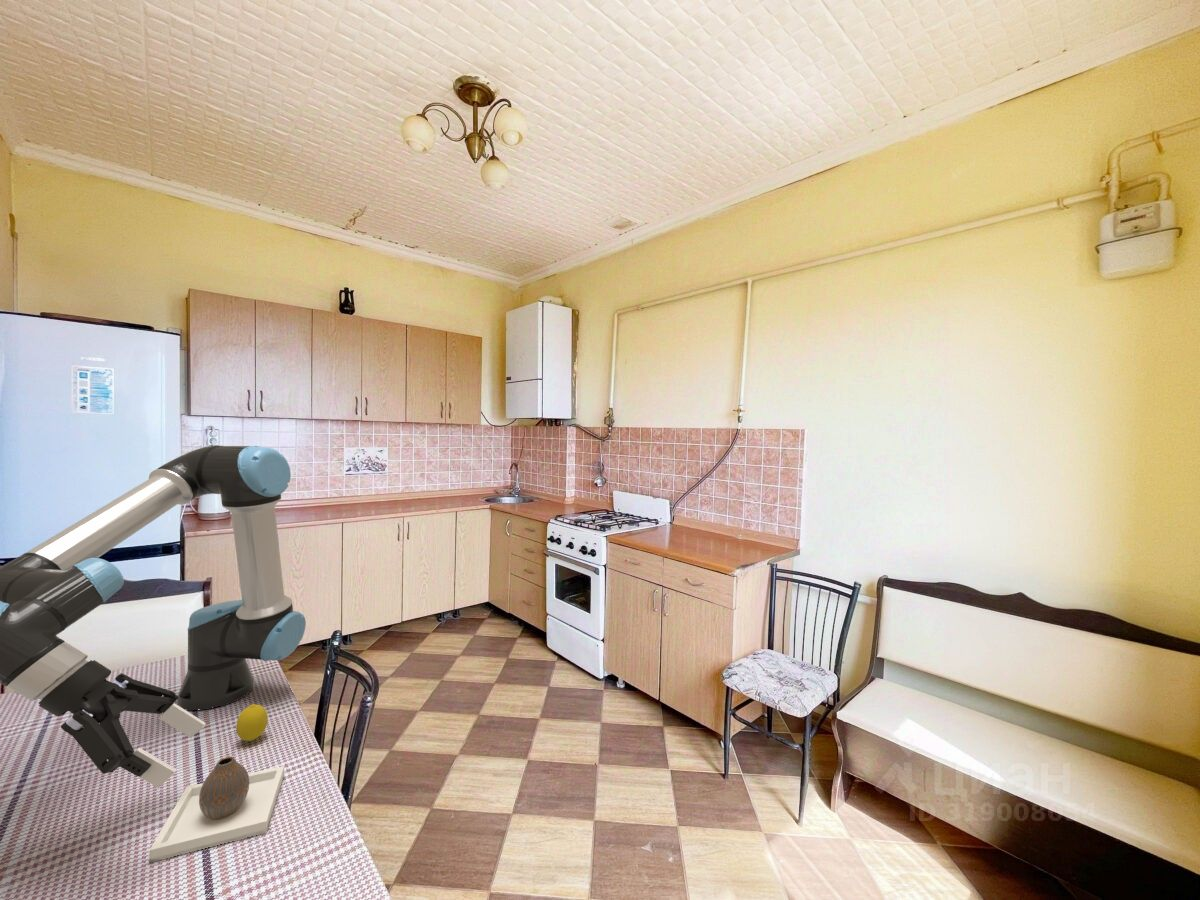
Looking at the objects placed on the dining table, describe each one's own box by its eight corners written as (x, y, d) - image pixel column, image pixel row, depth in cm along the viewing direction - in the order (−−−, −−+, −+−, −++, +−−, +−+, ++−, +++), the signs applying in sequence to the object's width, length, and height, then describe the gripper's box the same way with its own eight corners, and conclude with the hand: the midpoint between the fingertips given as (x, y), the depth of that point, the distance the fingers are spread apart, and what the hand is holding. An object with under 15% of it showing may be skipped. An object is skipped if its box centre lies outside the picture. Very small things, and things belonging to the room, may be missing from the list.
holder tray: (186, 797, 87) (186, 786, 87) (283, 776, 93) (284, 765, 93) (149, 863, 73) (149, 850, 73) (266, 833, 79) (266, 821, 79)
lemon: (250, 750, 100) (251, 713, 100) (229, 747, 101) (230, 709, 101) (273, 735, 106) (274, 699, 106) (252, 732, 107) (253, 696, 107)
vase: (208, 833, 78) (209, 779, 78) (191, 815, 82) (193, 764, 82) (256, 806, 84) (257, 757, 84) (238, 791, 88) (239, 743, 88)
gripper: (85, 665, 84) (190, 731, 90) (-24, 747, 61) (127, 827, 68) (126, 631, 86) (226, 697, 93) (35, 698, 64) (175, 780, 70)
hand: (184, 752), depth 80 cm, fingers open, 13 cm apart
